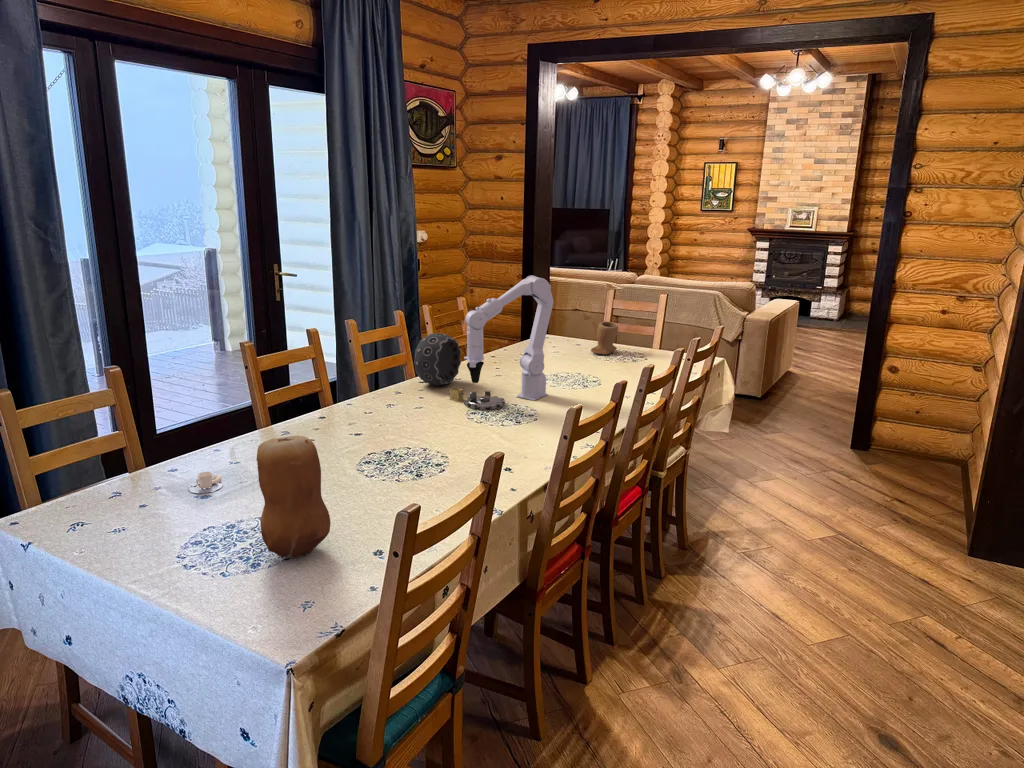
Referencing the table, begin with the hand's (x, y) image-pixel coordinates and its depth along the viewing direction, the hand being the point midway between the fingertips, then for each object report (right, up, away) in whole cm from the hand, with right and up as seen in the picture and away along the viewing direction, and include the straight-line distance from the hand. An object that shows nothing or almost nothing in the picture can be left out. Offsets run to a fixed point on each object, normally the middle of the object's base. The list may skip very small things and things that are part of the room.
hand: (475, 382), depth 246 cm
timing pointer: (+4, -6, +7) cm, 10 cm away
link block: (-7, -6, +4) cm, 10 cm away
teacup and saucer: (-60, -27, -73) cm, 99 cm away
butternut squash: (-31, -35, -105) cm, 115 cm away
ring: (-16, -1, +24) cm, 28 cm away
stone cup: (+58, +14, +84) cm, 103 cm away
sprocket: (+3, -8, -2) cm, 9 cm away
